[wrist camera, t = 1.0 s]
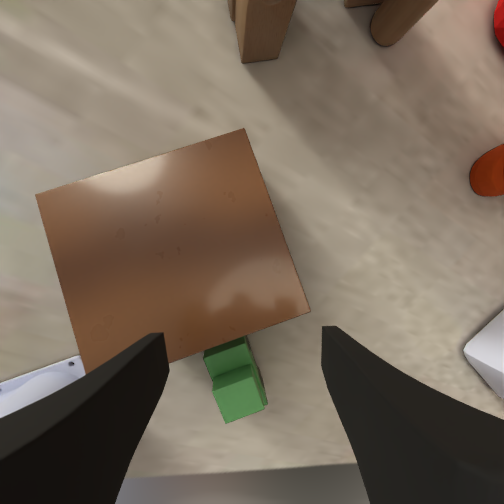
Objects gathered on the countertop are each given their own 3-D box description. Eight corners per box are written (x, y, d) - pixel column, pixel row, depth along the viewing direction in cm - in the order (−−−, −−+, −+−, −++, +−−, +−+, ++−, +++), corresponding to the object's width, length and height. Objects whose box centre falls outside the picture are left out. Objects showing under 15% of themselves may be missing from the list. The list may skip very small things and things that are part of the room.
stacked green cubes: (263, 380, 26) (272, 420, 21) (227, 393, 26) (227, 437, 21) (243, 325, 25) (247, 354, 20) (205, 339, 24) (200, 371, 19)
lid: (308, 309, 16) (311, 311, 15) (98, 386, 15) (90, 392, 15) (244, 134, 17) (244, 127, 16) (44, 198, 16) (34, 194, 16)
